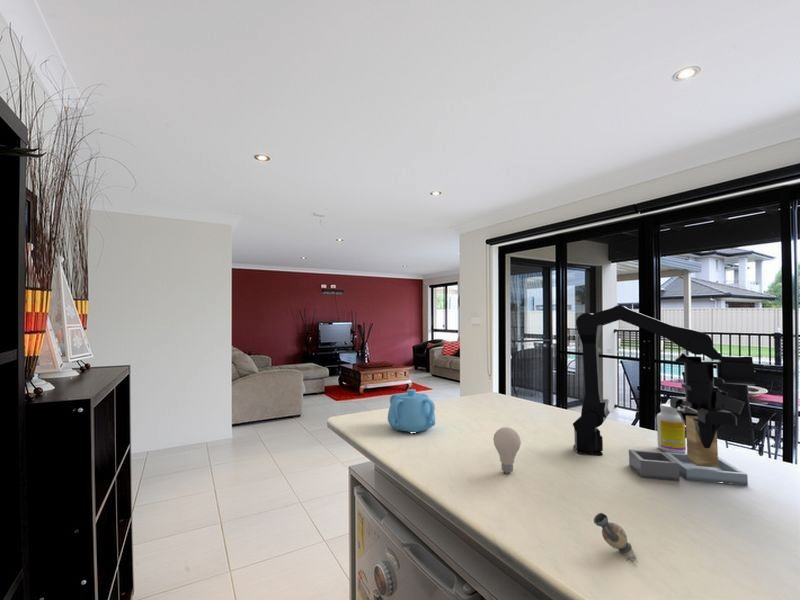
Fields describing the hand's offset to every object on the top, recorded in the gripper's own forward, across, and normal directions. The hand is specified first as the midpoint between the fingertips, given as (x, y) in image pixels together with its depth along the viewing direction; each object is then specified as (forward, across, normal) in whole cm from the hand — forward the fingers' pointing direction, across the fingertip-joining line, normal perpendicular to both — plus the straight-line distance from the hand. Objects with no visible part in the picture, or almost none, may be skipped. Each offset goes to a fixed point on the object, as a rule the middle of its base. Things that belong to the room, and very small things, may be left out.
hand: (701, 444), depth 93 cm
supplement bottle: (+7, +17, 0) cm, 18 cm away
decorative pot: (+7, +19, +78) cm, 81 cm away
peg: (+4, 0, 0) cm, 4 cm away
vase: (+7, -41, +32) cm, 52 cm away
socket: (+7, -3, +12) cm, 14 cm away
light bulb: (+7, -12, +47) cm, 49 cm away
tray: (+7, 0, 0) cm, 7 cm away
